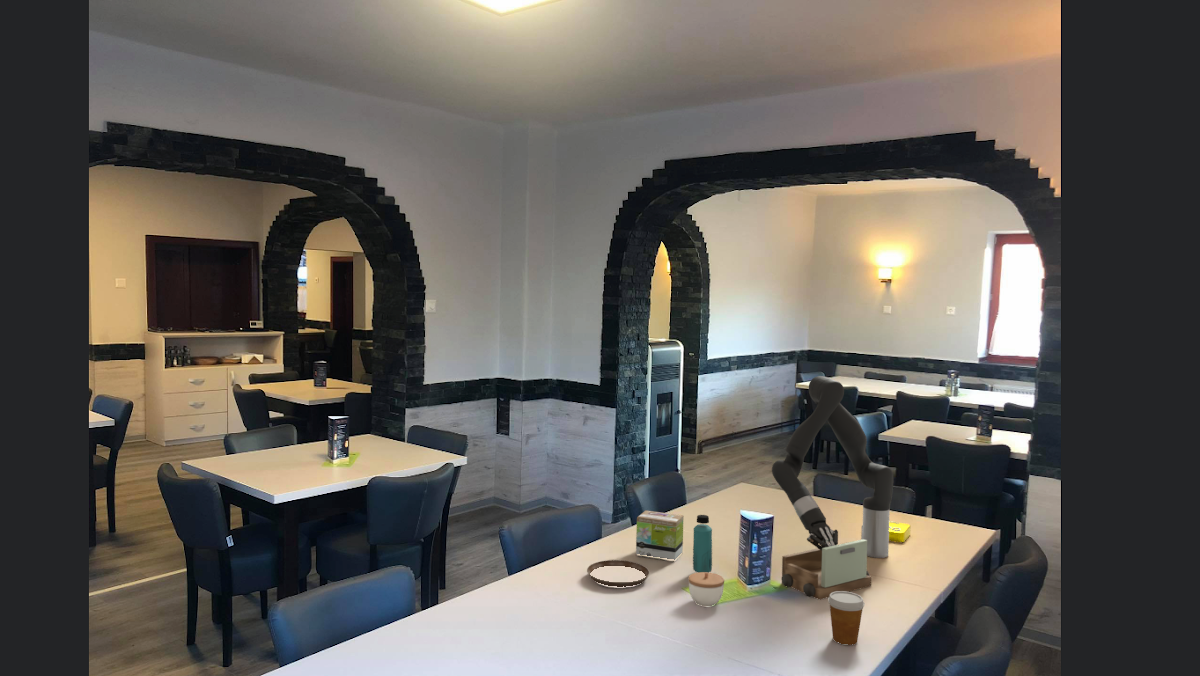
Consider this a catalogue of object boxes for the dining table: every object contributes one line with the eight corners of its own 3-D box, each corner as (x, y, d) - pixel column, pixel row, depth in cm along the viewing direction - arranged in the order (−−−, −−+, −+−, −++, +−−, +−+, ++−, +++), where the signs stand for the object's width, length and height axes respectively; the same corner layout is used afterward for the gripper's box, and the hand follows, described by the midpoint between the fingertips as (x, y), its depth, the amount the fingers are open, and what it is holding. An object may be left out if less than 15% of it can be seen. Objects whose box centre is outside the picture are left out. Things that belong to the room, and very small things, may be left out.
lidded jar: (701, 612, 224) (702, 581, 224) (681, 599, 234) (681, 569, 233) (730, 606, 229) (731, 575, 229) (709, 594, 239) (710, 564, 238)
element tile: (911, 534, 306) (911, 523, 306) (903, 544, 293) (903, 532, 293) (872, 528, 314) (873, 517, 314) (863, 537, 301) (863, 525, 301)
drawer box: (779, 583, 248) (779, 556, 248) (835, 570, 262) (836, 544, 262) (816, 600, 235) (817, 571, 234) (873, 585, 248) (874, 557, 248)
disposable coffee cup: (821, 633, 211) (822, 590, 211) (854, 632, 212) (855, 590, 211) (834, 648, 202) (836, 604, 201) (869, 647, 202) (870, 603, 202)
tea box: (635, 557, 273) (635, 516, 273) (644, 548, 283) (644, 509, 282) (675, 562, 268) (676, 521, 267) (683, 554, 277) (684, 514, 276)
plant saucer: (662, 580, 251) (662, 570, 251) (620, 597, 236) (620, 586, 236) (615, 564, 265) (615, 555, 265) (573, 580, 250) (573, 570, 250)
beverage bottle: (711, 578, 253) (712, 519, 252) (691, 576, 254) (692, 517, 253) (712, 571, 259) (713, 513, 258) (692, 570, 260) (694, 512, 259)
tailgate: (821, 586, 238) (822, 548, 237) (862, 575, 248) (863, 539, 247) (826, 588, 236) (827, 550, 236) (867, 577, 246) (868, 541, 245)
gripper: (800, 509, 249) (828, 557, 239) (829, 504, 256) (857, 550, 246) (788, 521, 253) (815, 568, 244) (817, 516, 260) (844, 561, 250)
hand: (836, 559), depth 245 cm, fingers closed
